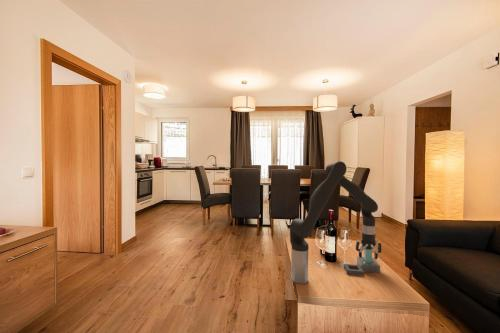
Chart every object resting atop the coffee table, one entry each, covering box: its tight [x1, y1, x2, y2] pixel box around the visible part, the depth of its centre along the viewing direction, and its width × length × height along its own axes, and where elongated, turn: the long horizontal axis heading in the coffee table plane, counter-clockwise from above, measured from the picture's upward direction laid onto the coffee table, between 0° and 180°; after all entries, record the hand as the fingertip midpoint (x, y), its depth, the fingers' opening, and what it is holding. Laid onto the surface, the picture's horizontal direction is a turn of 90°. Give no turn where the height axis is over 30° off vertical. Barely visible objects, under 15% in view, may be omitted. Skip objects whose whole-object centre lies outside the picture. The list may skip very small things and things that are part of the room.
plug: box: [363, 249, 373, 263], centre depth 149 cm, size 4×4×12 cm
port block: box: [356, 256, 381, 274], centre depth 149 cm, size 12×10×5 cm
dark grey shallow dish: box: [343, 263, 365, 277], centre depth 144 cm, size 9×9×2 cm
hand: (368, 258), depth 149 cm, fingers open, 8 cm apart
